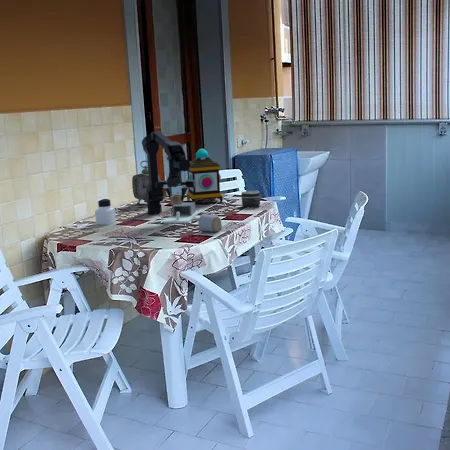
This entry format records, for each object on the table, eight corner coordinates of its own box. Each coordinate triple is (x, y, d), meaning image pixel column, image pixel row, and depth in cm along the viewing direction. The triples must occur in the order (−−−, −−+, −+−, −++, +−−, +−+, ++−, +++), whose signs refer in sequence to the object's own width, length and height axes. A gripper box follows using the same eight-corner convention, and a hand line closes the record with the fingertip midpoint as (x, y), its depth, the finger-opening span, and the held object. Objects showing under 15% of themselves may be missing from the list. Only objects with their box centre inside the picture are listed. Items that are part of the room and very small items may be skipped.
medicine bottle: (116, 221, 300) (113, 198, 297) (108, 225, 293) (106, 200, 291) (103, 221, 302) (101, 197, 300) (95, 224, 296) (93, 200, 293)
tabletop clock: (133, 205, 344) (130, 161, 338) (143, 202, 351) (140, 159, 346) (153, 206, 336) (150, 161, 331) (163, 203, 343) (160, 159, 338)
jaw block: (173, 202, 295) (172, 194, 294) (183, 202, 294) (182, 194, 293) (170, 204, 290) (170, 196, 290) (181, 204, 290) (180, 196, 289)
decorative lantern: (184, 200, 352) (181, 148, 346) (217, 197, 356) (214, 146, 350) (190, 205, 333) (187, 151, 327) (225, 202, 337) (223, 148, 331)
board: (163, 223, 290) (163, 214, 289) (175, 214, 312) (174, 205, 311) (188, 223, 288) (187, 214, 287) (197, 213, 309) (197, 205, 308)
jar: (263, 205, 325) (263, 191, 323) (254, 208, 316) (254, 194, 315) (247, 204, 330) (247, 190, 328) (238, 207, 322) (237, 193, 320)
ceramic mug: (213, 233, 264) (213, 216, 263) (198, 232, 268) (197, 215, 267) (226, 229, 273) (225, 212, 271) (211, 227, 277) (210, 211, 276)
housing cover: (172, 215, 302) (172, 205, 301) (177, 212, 311) (176, 202, 310) (191, 215, 301) (190, 205, 300) (195, 211, 309) (194, 202, 308)
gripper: (151, 172, 283) (153, 205, 286) (190, 171, 279) (192, 204, 283) (157, 169, 293) (160, 200, 297) (195, 168, 290) (197, 200, 294)
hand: (177, 201), depth 292 cm, fingers closed on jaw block, 5 cm apart
